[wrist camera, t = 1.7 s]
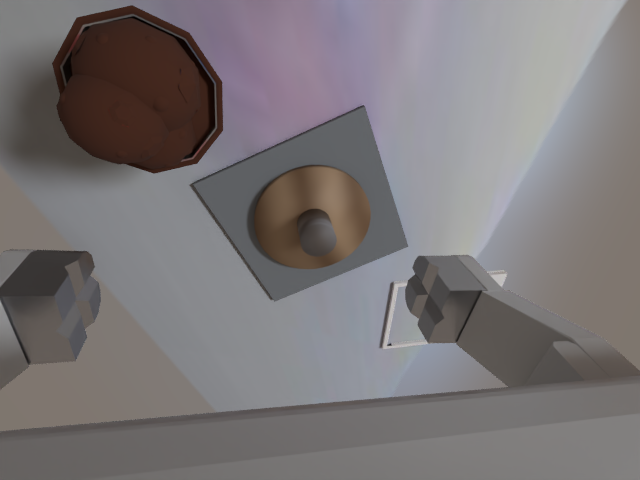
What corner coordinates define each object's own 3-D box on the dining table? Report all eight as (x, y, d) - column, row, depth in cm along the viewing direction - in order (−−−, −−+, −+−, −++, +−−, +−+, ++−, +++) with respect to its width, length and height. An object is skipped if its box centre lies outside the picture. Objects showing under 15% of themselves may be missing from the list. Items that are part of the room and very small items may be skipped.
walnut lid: (346, 144, 38) (357, 161, 34) (381, 238, 46) (394, 261, 42) (231, 196, 40) (229, 218, 36) (285, 279, 48) (288, 305, 44)
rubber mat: (363, 105, 37) (364, 106, 36) (406, 244, 48) (408, 246, 48) (193, 182, 39) (193, 184, 38) (274, 299, 50) (274, 301, 50)
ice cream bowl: (213, 149, 37) (194, 224, 25) (94, 105, 33) (0, 169, 21) (247, 44, 32) (244, 74, 20) (112, -22, 28) (5, -37, 16)
